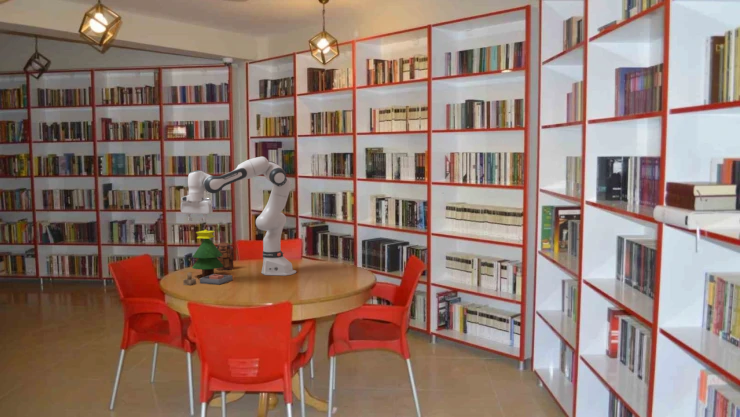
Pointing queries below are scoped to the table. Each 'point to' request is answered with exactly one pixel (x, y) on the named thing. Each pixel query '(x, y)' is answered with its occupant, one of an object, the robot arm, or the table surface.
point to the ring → (216, 276)
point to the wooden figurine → (226, 256)
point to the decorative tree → (207, 254)
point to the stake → (189, 280)
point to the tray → (216, 280)
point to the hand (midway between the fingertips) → (197, 221)
